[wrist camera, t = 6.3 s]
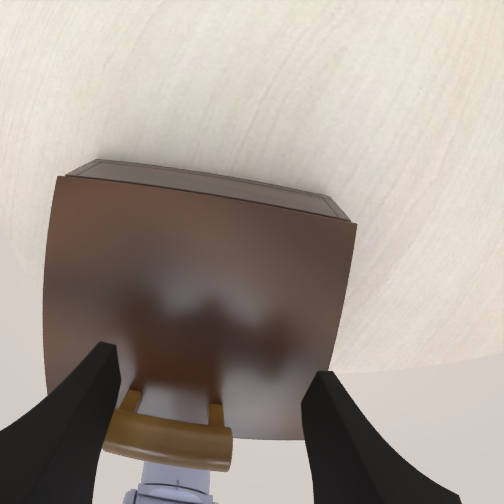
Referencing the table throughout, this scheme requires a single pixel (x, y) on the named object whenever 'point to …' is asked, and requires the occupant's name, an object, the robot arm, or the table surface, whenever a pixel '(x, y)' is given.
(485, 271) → the table surface
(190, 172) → the keepsake box
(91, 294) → the box lid
